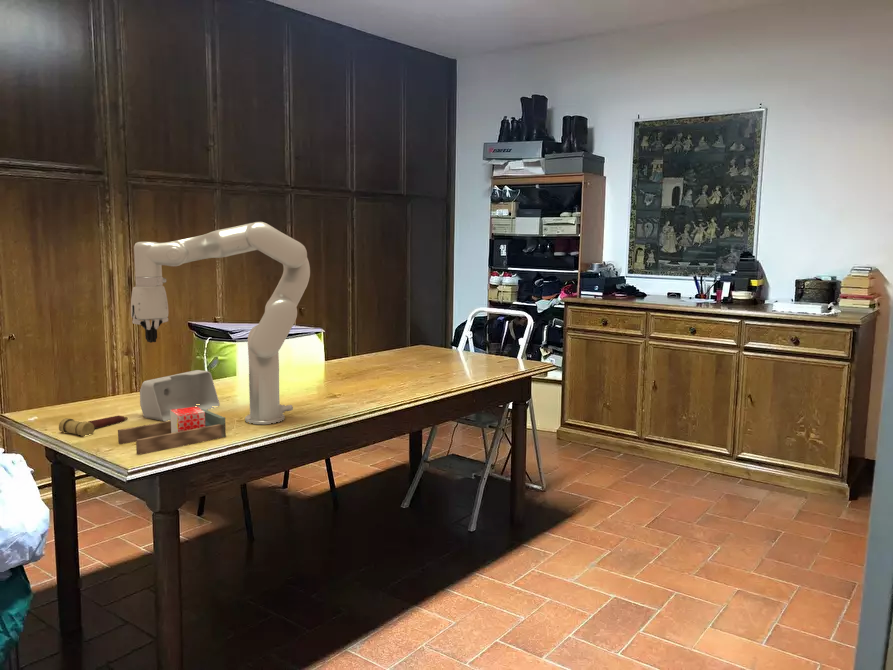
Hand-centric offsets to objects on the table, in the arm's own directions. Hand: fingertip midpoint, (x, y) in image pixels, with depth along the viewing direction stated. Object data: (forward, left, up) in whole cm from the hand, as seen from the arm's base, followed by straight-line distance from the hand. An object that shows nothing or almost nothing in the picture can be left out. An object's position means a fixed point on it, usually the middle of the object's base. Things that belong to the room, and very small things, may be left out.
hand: (151, 341), depth 222 cm
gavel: (+13, -11, -28) cm, 33 cm away
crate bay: (+2, +18, -27) cm, 32 cm away
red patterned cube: (-3, +16, -27) cm, 32 cm away
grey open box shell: (-14, -16, -28) cm, 34 cm away
